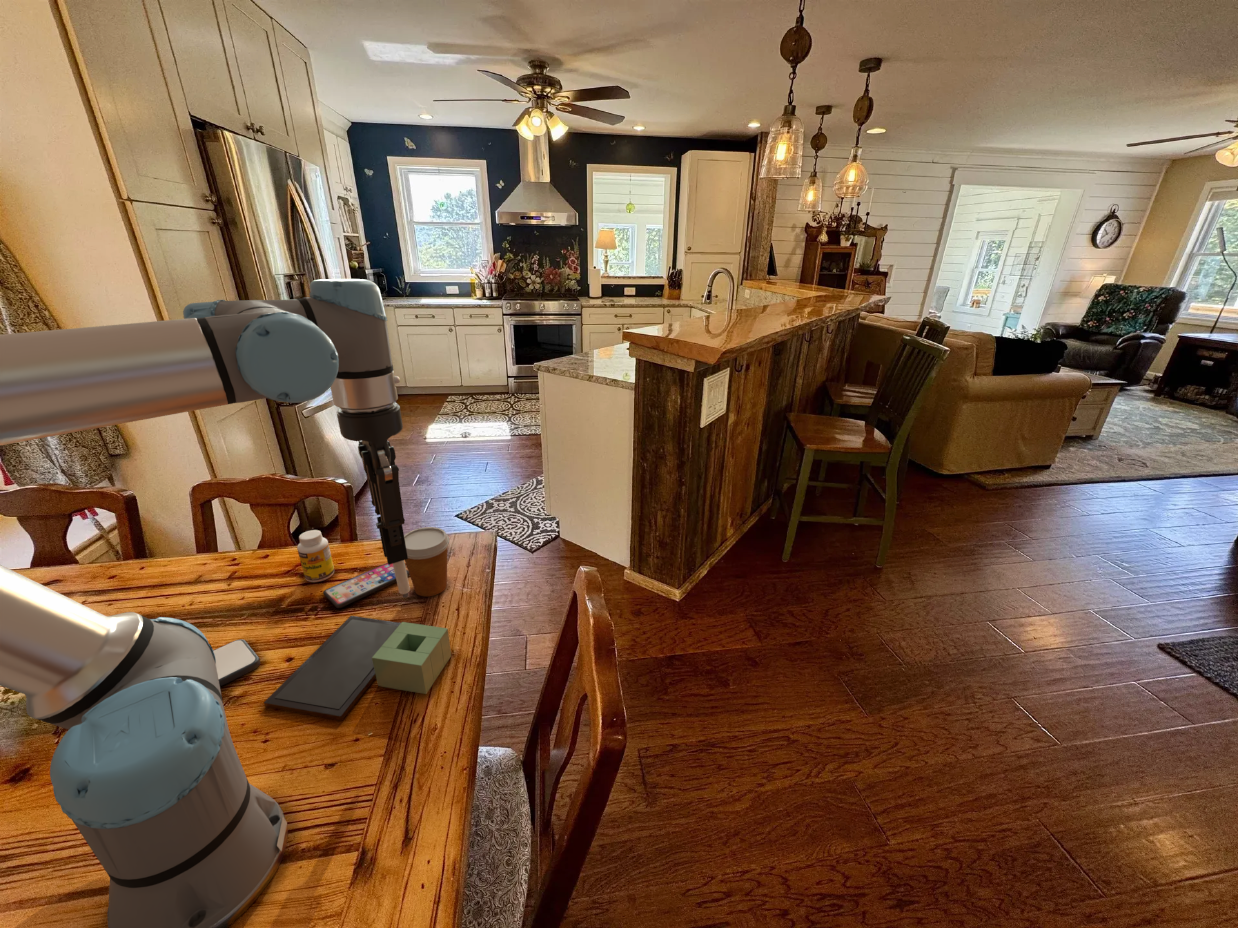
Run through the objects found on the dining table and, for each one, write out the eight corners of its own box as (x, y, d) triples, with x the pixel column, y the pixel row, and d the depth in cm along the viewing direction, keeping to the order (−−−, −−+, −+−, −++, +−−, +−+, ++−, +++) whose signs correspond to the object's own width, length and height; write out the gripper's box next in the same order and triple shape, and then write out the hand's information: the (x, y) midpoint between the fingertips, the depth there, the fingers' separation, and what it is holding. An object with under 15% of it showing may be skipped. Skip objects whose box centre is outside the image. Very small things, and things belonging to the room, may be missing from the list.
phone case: (244, 643, 87) (122, 699, 75) (242, 635, 87) (118, 692, 75) (263, 667, 82) (136, 732, 71) (261, 659, 82) (132, 724, 70)
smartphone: (321, 590, 99) (393, 559, 110) (322, 594, 100) (394, 562, 110) (337, 606, 95) (410, 572, 105) (338, 610, 95) (411, 575, 106)
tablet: (341, 721, 73) (340, 715, 73) (265, 707, 75) (263, 701, 74) (415, 628, 91) (414, 624, 91) (351, 619, 93) (350, 614, 93)
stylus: (407, 600, 76) (389, 515, 70) (398, 598, 76) (379, 514, 70) (413, 593, 77) (396, 509, 71) (404, 592, 77) (386, 509, 71)
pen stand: (426, 694, 78) (421, 665, 75) (378, 686, 79) (371, 657, 77) (451, 655, 85) (447, 628, 83) (407, 648, 87) (402, 621, 84)
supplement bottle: (299, 583, 103) (288, 541, 99) (314, 568, 108) (303, 527, 104) (326, 583, 103) (316, 541, 99) (340, 568, 108) (330, 527, 104)
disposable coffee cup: (464, 578, 106) (458, 530, 101) (436, 606, 97) (428, 554, 92) (426, 569, 108) (419, 522, 103) (396, 595, 100) (386, 545, 95)
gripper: (412, 414, 61) (436, 572, 70) (386, 389, 72) (409, 529, 81) (345, 424, 57) (379, 591, 66) (327, 396, 68) (359, 542, 77)
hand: (395, 556), depth 73 cm, fingers closed on stylus, 1 cm apart
